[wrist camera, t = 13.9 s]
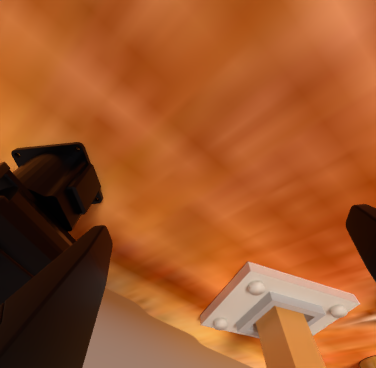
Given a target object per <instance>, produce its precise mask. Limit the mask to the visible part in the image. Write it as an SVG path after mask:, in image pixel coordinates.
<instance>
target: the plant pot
mask: <svg viewBox="0 0 376 368" xmlns="http://www.w3.org/2000/svg"><path fill="white" fill-rule="evenodd" d="M359 366H360V368H376V356H372V357H369V358H366V359H364V360H362V361H361V362H360V364H359Z"/></svg>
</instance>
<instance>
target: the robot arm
mask: <svg viewBox="0 0 376 368" xmlns="http://www.w3.org/2000/svg"><path fill="white" fill-rule="evenodd" d="M76 147H79V148H80V150H78V149H77V148H76ZM17 153H19V154H20V155H18V154H17ZM11 154H12V157H13V158H14V160H15V162H16V164H17V165H18V167H19V168H18V169H17V170H15V171H14V172H13V173H12V172H11V171H10V170H9V169H10V167H9V166H8V165H7V164H6V163H5V162H2V163H0V368H82V367H83V363H84V360H85V356H86V353H87V349H88V345H89V342H90V339H91V335H92V332H93V328H94V324H95V321H96V318H97V314H98V311H99V307H100V304H101V300H102V297H103V293H104V289H105V286H106V281H107V275H108V269H109V263H110V258H111V252H112V239H111V237H110V234H109V232H108V229H107V227H106V226H104V225H101V226H94V227H93V228H91V229H90V230H89V231H88V232H87V233H85V234H84V235H83V236H82V237H81V238H79V239H78V240H77V241H75V239H74V238H73V237H72V236H71V235H70V234H69V233H68V231H72V229H73V228H74V226H75V224H76V223H77V221H78V219H79V217H80V216H81V214H85V213H86V212H87V210H88V209H89V207H90V205H91V204H97V203H101V202H102V200H103V196H102V193H101V190H100V188H101V186H100V183H99V180H98V177H97V175H96V172H95V169H94V167H93V165H92V164H91V163H90V161H89V158H88V155H87V152H86V150H85V147H84V145H83V144H82V143H79V142H74V143H64V144H55V145H45V146H35V147H25V148H17V149H15V150H13V151H12V153H11ZM96 197H97V198H99V199H97V198H96ZM346 228H347V231H348V233H349V235H350V237H351V239H352V241H353V242H354V244H355V246H356V248H357V250H358V252H359V254H360V256H361V258H362V260H363V262H364V264H365V266H366V267H367V269H368V271H369V272H370V274H371V276H372V277H373V279H374V280H375V282H376V208H374V207H371V206H369V205H366V204H360V205H353V206H352V207H351V209H350V212H349V214H348V217H347V220H346Z"/></svg>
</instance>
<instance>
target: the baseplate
mask: <svg viewBox="0 0 376 368" xmlns="http://www.w3.org/2000/svg"><path fill="white" fill-rule="evenodd" d="M359 304H360V303H359V301H358V300H357V298H356V297H355V295H354V294H351V293H348V292H345V291H341V290H338V289H335V288H332V287H329V286H325V285H322V284H319V283H316V282H312V281H309V280H306V279H303V278H300V277H296V276H293V275H290V274H287V273H284V272H280V271H277V270H274V269H271V268H268V267H264V266H261V265H258V264H255V263H252V262H247V263H246V264H245V265H244V267H243V268H242V269H241V270H240V271H239V272H238V273H237V274H236V276H235V277H234V278H233V279H232V280H231V281H230V282H229V284H228V285H227V286H226V287H225V288H224V289H223V290H222V292H221V293H220V294H219V295H218V296H217V297H216V298H215V299H214V301H213V302H212V303H211V304H210V305H209V306H208V307H207V309H206V310H205V311H204V312H203V313H202V314H201V315H200V320H201V325H203V326H207V327H211V328H215V329H217V330H225V331H229V332H234V333H238V334H242V335H247V336H251V337H256V338H259V334H258V330H257V326H256V321H257V320H259V319H260V318H261V317H262V316H263V315H264V314H265V313H267V312H268V311H269V310H270V309H271V308H272V307H274V306H277V307H281V308H284V309H288V310H292V311H296V312H299V313H303V314H304V316H305V319H306V321H307V323H308V326H309V328H310V331H311V333H312V335H315V334H316V333H318V332H319V331H321V330H322V329H324V328H325V327H327V326H328V325H330V324H331V323H332V322H334V321H335V320H337V319H338V318H341V317H344V316H346V315H347V313H348V312H349V311H350V310H352V309H353V308H355V307H356V306H358V305H359Z"/></svg>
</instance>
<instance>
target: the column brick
mask: <svg viewBox="0 0 376 368" xmlns="http://www.w3.org/2000/svg"><path fill="white" fill-rule="evenodd" d="M256 326H257V330H258V334H259V338H260V342H261V346H262V350H263V354H264V358H265V362H266V367H267V368H326V366H325V363H324V361H323V359H322V356H321V354H320V352H319V349H318V347H317V345H316V342H315V340H314V338H313V335H312V333H311V331H310V328H309V326H308V323H307V321H306V319H305V316H304V314H303V313H299V312H296V311H292V310H288V309H284V308H281V307H277V306H274V307H272V308H271V309H270V310H269V311H268V312H267V313H265V314H264V315H263V316H262V317H261V318H260V319H259V320H257V321H256Z"/></svg>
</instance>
